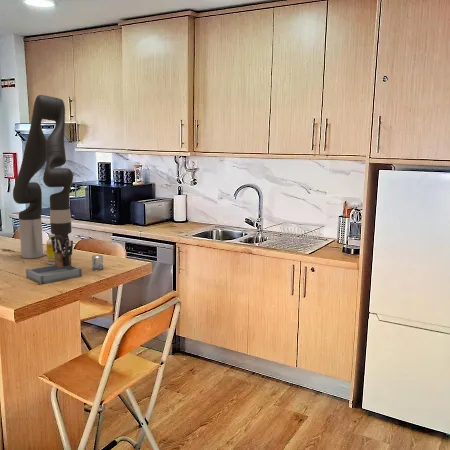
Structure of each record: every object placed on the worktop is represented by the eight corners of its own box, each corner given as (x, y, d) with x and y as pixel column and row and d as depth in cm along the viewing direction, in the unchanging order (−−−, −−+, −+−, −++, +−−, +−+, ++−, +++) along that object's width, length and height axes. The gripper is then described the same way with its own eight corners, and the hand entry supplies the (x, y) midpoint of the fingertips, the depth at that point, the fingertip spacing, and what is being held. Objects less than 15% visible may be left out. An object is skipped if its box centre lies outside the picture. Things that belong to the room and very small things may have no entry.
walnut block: (65, 263, 187) (65, 251, 186) (71, 265, 184) (70, 253, 183) (54, 265, 184) (54, 252, 183) (60, 267, 181) (59, 254, 180)
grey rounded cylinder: (90, 269, 194) (89, 255, 193) (99, 267, 197) (99, 254, 196) (95, 271, 191) (95, 257, 190) (105, 269, 194) (105, 256, 193)
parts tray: (26, 277, 181) (26, 269, 180) (66, 269, 192) (65, 262, 192) (41, 284, 172) (40, 276, 171) (81, 276, 183) (81, 268, 182)
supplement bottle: (58, 265, 199) (57, 235, 197) (44, 264, 200) (42, 234, 198) (66, 261, 205) (65, 232, 203) (53, 260, 207) (51, 231, 205)
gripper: (79, 222, 178) (81, 266, 181) (61, 217, 188) (63, 260, 191) (60, 224, 173) (62, 269, 176) (42, 219, 183) (45, 263, 186)
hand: (63, 264), depth 184 cm, fingers closed on walnut block, 4 cm apart
